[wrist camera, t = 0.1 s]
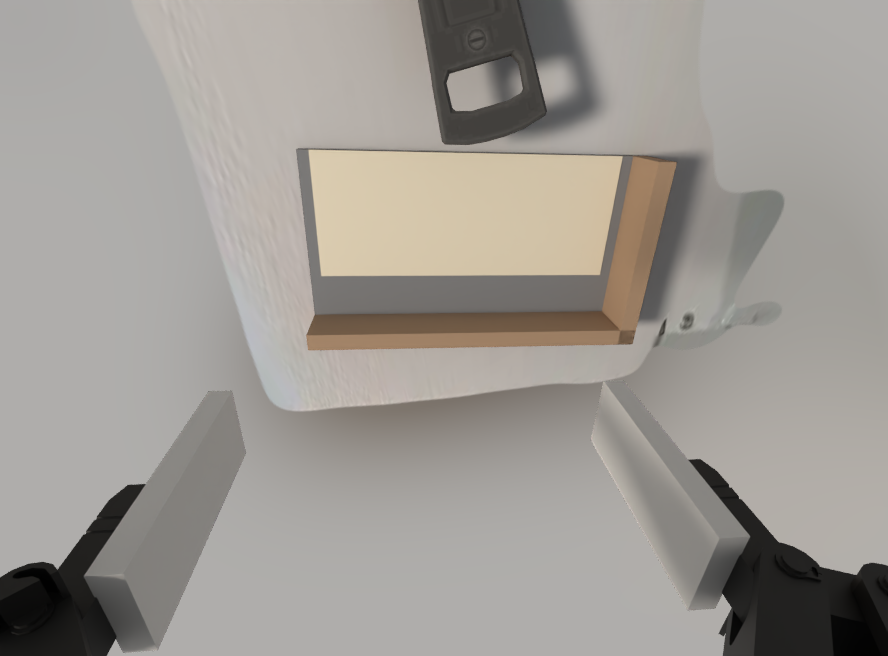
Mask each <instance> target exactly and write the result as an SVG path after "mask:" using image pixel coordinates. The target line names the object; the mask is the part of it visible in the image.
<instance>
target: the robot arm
mask: <svg viewBox="0 0 888 656" xmlns="http://www.w3.org/2000/svg"><path fill="white" fill-rule="evenodd" d="M591 441H592V443H593V445H594V447H595V448H596V450H597V452H598V454H599V455H600V457H601V459H602V461H603V462H604V464H605V466H606V468H607V469H608V471H609V473H610V475H611V477H612V478H613V480H614V482H615V484H616V485H617V487H618V489H619V491H620V492H621V494H622V496H623V498H624V499H625V501H626V503H627V505H628V506H629V508H630V510H631V512H632V514H633V515H634V517H635V519H636V521H637V522H638V524H639V526H640V528H641V529H642V531H643V533H644V535H645V536H646V538H647V540H648V542H649V543H650V545H651V547H652V549H653V550H654V552H655V554H656V556H657V558H658V559H659V561H660V563H661V565H662V566H663V568H664V570H665V572H666V573H667V575H668V577H669V579H670V580H671V582H672V584H673V586H674V588H675V589H676V591H677V593H678V595H679V596H680V598H681V600H682V602H683V603H684V605H685V607H686V609H687V610H701V609H714V608H716V606H717V604H718V602H719V600H720V597H721V595H722V594H723V595H724V597H725V598H726V600H727V601H728V603H729V604H730V606H731V607H732V609H731V610H730V613H729V614H728V616H727V618H726V620H725V622H724V624H723V626H722V628H721V630H720V632H719V634H721V635H722V636H724V635H725V633H726V635H725V643H724V651H723V656H888V566H886V565H883V564H877V563H869V564H865V565H863V567H862V568H861V569H860V571H859V572H858V574H857V575H853V574H849V573H843V572H840V571H835V570H830V569H826V568H822V567H820V566H819V565H818V563H817V562H816V561H814V560H813V559H812V558H811V557H809V556H808V555H807V554H806V553H804V552H802V551H800V550H798V549H797V548H795V547H793V546H790V545H787V544H784V543H779V542H778V541H777V540H776V539H775V538H774V537H773V535H772V534H771V533H770V532H769V531H768V530H767V528H766V527H765V526H764V525H763V524H762V523H761V521H760V520H759V519H758V518H757V517H756V516H755V515H754V513H752V511H751V510H750V509H749V508H748V506H747V505H746V504H745V503H744V502H743V501H742V500H741V499H739V496H738V495H737V494H736V493H735V492H734V490H733V489H732V488H729V484H728V483H727V482H726V481H725V480H724V479H723V478H722V476H721V475H720V474H719V473H718V472H717V471H716V470H715V469H713V468H711V467H710V466H709V465H708V464H706V463H705V462H703V461H702V460H701V459H695V460H688V459H687V458H686V457H685V455H684V454H683V453H682V452H681V451H680V449H679V448H678V447H677V446H676V444H675V443H674V442H673V441H672V439H671V438H670V437H669V436H668V434H667V433H666V432H665V431H664V430H663V428H662V427H661V426H660V425H659V423H658V422H657V421H656V420H655V419H654V417H653V416H652V415H651V413H649V411H648V410H647V409H646V408H645V406H644V405H643V404H642V403H641V401H640V400H639V399H638V398H637V396H636V395H635V394H634V393H633V391H632V390H631V389H630V388H629V386H628V385H627V384H626V383H625V381H604V382H603V387H602V392H601V396H600V401H599V405H598V409H597V414H596V418H595V423H594V427H593V432H592V436H591ZM245 454H246V451H245V447H244V442H243V438H242V433H241V429H240V424H239V419H238V415H237V411H236V406H235V402H234V397H233V393H232V391H208V393H207V395H206V396H205V397H204V399H203V400H202V402H201V403H200V405H199V406H198V408H197V409H196V411H195V412H194V414H193V415H192V417H191V418H190V420H189V421H188V423H187V424H186V426H185V427H184V429H183V430H182V431H181V433H180V434H179V436H178V438H177V439H176V440H175V442H174V443H173V445H172V446H171V448H170V449H169V451H168V452H167V454H166V455H165V457H164V458H163V460H162V461H161V463H160V464H159V466H158V467H157V469H156V470H155V472H154V473H153V474H152V476H151V477H150V479H149V480H148V482H147V483H146V484H139V485H127V486H126V487H125V488H124V489H123V490H121V491H120V492H119V493H117V494H116V495H115V496H114V497H113V498H111V499H110V500H109V501H108V503H107V504H106V505H105V506H104V508H103V509H102V511H101V512H100V513H99V515H98V516H97V519H96V520H95V521H94V522H93V523H92V524H91V526H90V527H89V528H88V530H87V531H86V534H85V535H83V536H82V538H81V539H80V540H79V542H78V543H77V544H76V546H75V547H74V548H73V550H72V551H71V552H70V554H69V555H68V556H67V558H66V559H65V560H64V562H63V563H62V565H61V566H60V567H59V569H58V570H57V569H56V568H55V567H54V565H53V564H49V563H45V562H39V563H31V564H27V565H25V566H22V567H19V568H17V569H14V570H12V571H10V572H8V573H7V574H5V575H3V576H2V577H0V656H107V654H108V652H109V650H110V648H111V647H112V645H113V643H114V641H115V639H116V640H117V642H118V644H119V646H120V648H121V650H122V651H123V653H126V652H140V651H153V650H158V649H159V646H160V644H161V642H162V640H163V637H164V635H165V633H166V631H167V629H168V626H169V624H170V621H171V620H172V617H173V615H174V612H175V610H176V608H177V606H178V604H179V602H180V599H181V597H182V595H183V593H184V591H185V588H186V586H187V584H188V582H189V579H190V577H191V575H192V573H193V570H194V568H195V566H196V564H197V561H198V559H199V557H200V555H201V553H202V550H203V548H204V546H205V543H206V541H207V539H208V537H209V535H210V532H211V530H212V528H213V526H214V523H215V521H216V519H217V517H218V514H219V512H220V510H221V508H222V506H223V503H224V501H225V499H226V497H227V494H228V492H229V490H230V488H231V485H232V483H233V481H234V479H235V476H236V474H237V472H238V470H239V468H240V465H241V463H242V461H243V459H244V456H245Z"/></svg>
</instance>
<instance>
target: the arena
mask: <svg viewBox="0 0 888 656" xmlns="http://www.w3.org/2000/svg"><path fill="white" fill-rule="evenodd" d="M296 152H297V161H298V169H299V178H300V187H301V196H302V205H303V214H304V222H305V231H306V240H307V249H308V258H309V266H310V275H311V284H312V293H313V302H314V311H315V316H314V318H313V321H312V323H311V325H310V328H309V330H308V333H307V335H306V337H307V345H308V350H348V349H401V348H455V347H509V346H563V345H616V344H633V340H634V335H635V331H636V327H637V323H638V319H639V315H640V311H641V307H642V303H643V299H644V295H645V291H646V287H647V283H648V278H649V274H650V270H651V266H652V262H653V258H654V254H655V250H656V246H657V242H658V238H659V234H660V230H661V225H662V221H663V217H664V213H665V209H666V205H667V201H668V197H669V193H670V189H671V185H672V181H673V177H674V173H675V168H676V164H677V162H673V161H668V160H663V159H658V158H653V157H649V156H621V155H573V154H525V153H478V152H430V151H382V150H334V149H296Z"/></svg>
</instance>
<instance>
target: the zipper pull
mask: <svg viewBox="0 0 888 656" xmlns="http://www.w3.org/2000/svg"><path fill="white" fill-rule="evenodd" d="M418 3H419V9H420V15H421V20H422V26H423V32H424V38H425V44H426V49H427V55H428V61H429V67H430V73H431V80H432V87H433V93H434V99H435V105H436V110H437V116H438V121H439V127H440V133H441V138H442V142H443V143H444V144H449V145H470V144H476V143H482V142H487V141H491V140H494V139H498V138H501V137H504V136H507V135H510V134H512V133H515V132H517V131H519V130H522V129H524V128H526V127H527V126H529V125H531V124H532V123H534V122H535V121H537V120H538V119H540V118H542V117H543V116H545V114H546V112H547V109H546V105H545V101H544V97H543V93H542V89H541V85H540V81H539V77H538V73H537V69H536V65H535V61H534V57H533V53H532V50H531V46H530V43H529V39H528V35H527V31H526V27H525V23H524V19H523V15H522V11H521V7H520V3H519V0H418ZM508 56H511V57H512V58H513V59H514V60H515V61H516V62H517V63H518V65H519V70H520V75H521V81H522V86H523V90H522V92H521V93H520V94H518V95H517V96H515V97H513V98H512V99H510V100H508V101H505V102H502V103H498V104H495V105H491V106H488V107H484V108H481V109H477V110H474V111H455V110H454V109H453V108H452V105H451V101H450V97H449V92H448V88H447V84H446V83H447V80H448V76H449V74H450V73H453V72H457V71H460V70H464V69H467V68H470V67H474V66H477V65H481V64H484V63H487V62H491V61H494V60H498V59H501V58H504V57H508Z"/></svg>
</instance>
